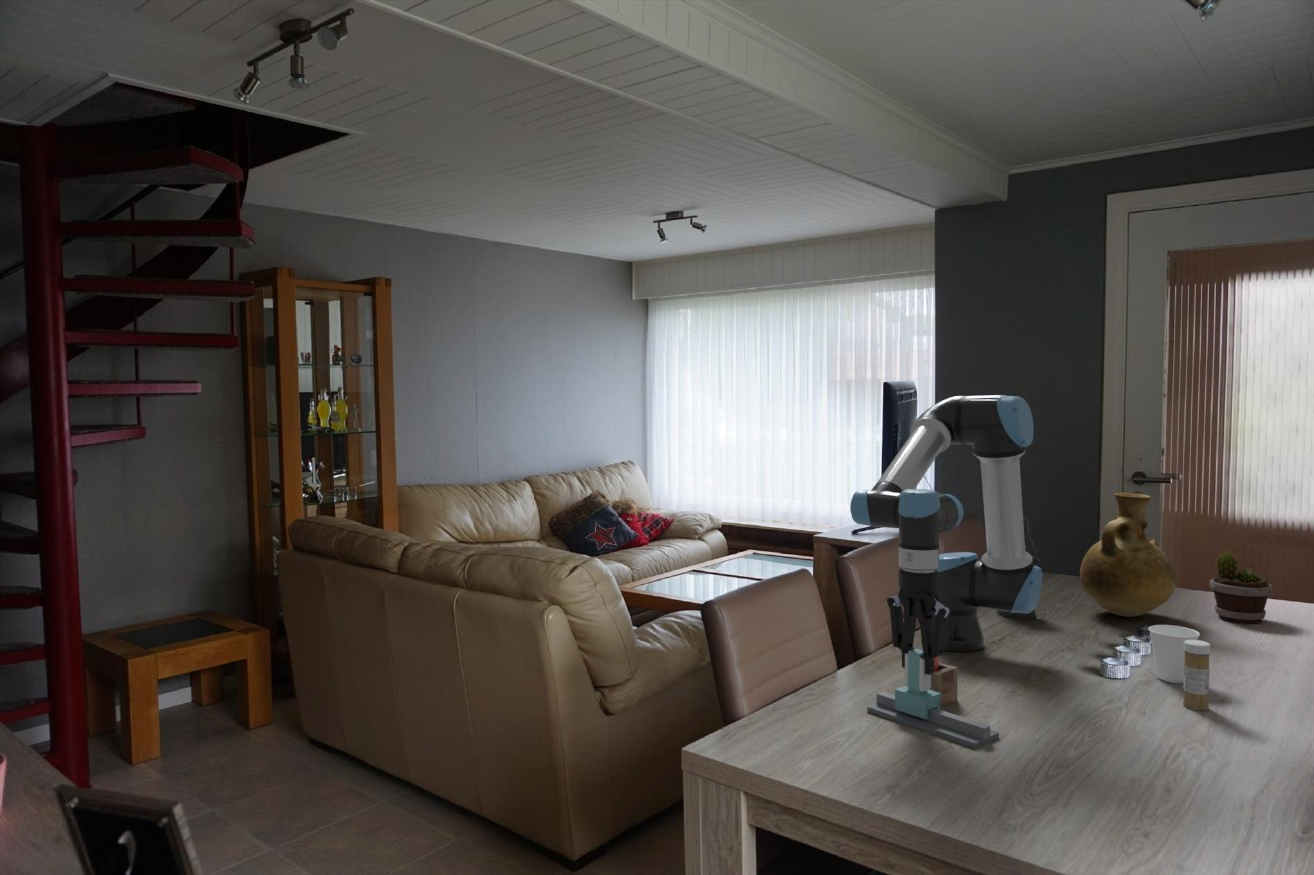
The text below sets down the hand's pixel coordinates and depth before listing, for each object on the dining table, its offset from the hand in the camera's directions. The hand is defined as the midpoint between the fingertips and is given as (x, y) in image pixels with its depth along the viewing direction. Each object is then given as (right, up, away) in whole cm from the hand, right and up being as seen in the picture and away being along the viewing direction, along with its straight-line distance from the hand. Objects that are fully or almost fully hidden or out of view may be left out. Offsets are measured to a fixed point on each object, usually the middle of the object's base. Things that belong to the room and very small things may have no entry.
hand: (917, 687), depth 171 cm
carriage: (0, -5, 0) cm, 5 cm away
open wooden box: (+6, -6, +12) cm, 15 cm away
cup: (+64, -5, +23) cm, 68 cm away
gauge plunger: (+6, 0, +11) cm, 13 cm away
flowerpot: (+112, -2, +73) cm, 134 cm away
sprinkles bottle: (+58, -6, +6) cm, 59 cm away
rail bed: (+2, -7, -2) cm, 7 cm away
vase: (+83, -2, +78) cm, 114 cm away
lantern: (+53, -2, +80) cm, 96 cm away
